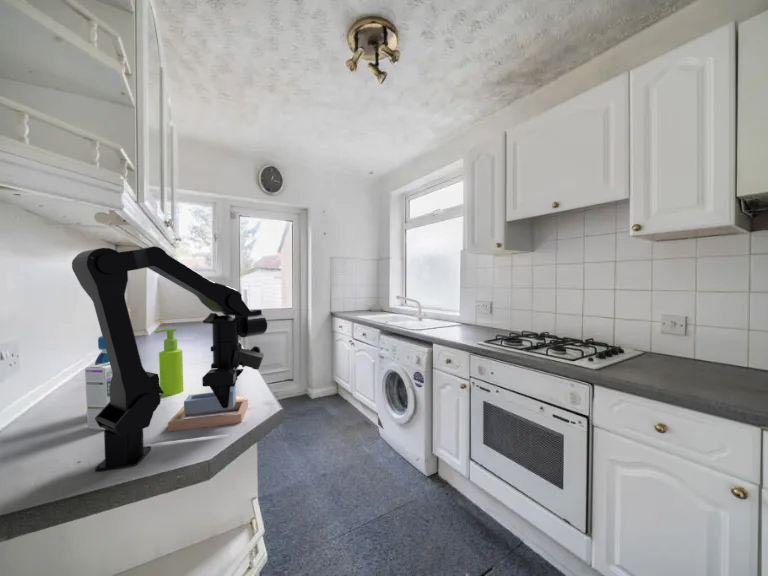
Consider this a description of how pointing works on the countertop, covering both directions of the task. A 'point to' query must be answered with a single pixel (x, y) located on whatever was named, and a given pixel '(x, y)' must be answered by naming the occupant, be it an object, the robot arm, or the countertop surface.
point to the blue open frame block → (207, 402)
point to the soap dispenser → (170, 365)
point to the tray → (208, 418)
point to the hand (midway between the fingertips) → (227, 404)
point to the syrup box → (97, 391)
